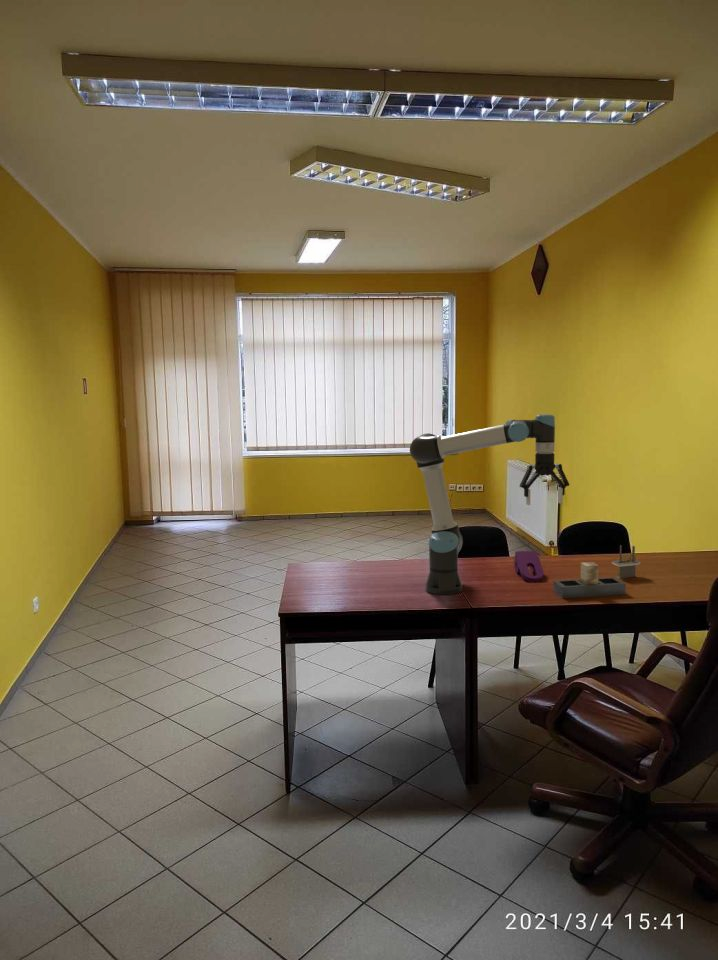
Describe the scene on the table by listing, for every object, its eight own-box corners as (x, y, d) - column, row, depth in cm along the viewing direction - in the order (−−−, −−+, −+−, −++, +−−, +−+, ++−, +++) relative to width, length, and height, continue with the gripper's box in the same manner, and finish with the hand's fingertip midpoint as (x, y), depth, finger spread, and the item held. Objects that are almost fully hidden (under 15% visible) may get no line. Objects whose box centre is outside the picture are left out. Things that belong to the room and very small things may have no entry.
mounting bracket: (543, 592, 287) (534, 565, 301) (545, 578, 282) (536, 550, 297) (521, 593, 287) (513, 565, 302) (523, 578, 282) (515, 551, 297)
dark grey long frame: (562, 598, 260) (562, 587, 259) (553, 591, 269) (553, 580, 268) (625, 594, 262) (625, 583, 262) (614, 587, 271) (614, 577, 271)
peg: (585, 595, 263) (586, 566, 261) (580, 591, 268) (580, 562, 266) (597, 594, 263) (598, 565, 262) (592, 590, 268) (592, 562, 267)
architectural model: (585, 575, 292) (586, 544, 290) (630, 568, 300) (631, 538, 298) (619, 588, 272) (620, 554, 270) (666, 580, 281) (667, 548, 279)
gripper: (518, 454, 264) (517, 506, 267) (578, 452, 267) (577, 504, 270) (512, 452, 272) (511, 503, 275) (570, 450, 274) (569, 501, 277)
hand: (544, 504), depth 272 cm, fingers open, 13 cm apart
